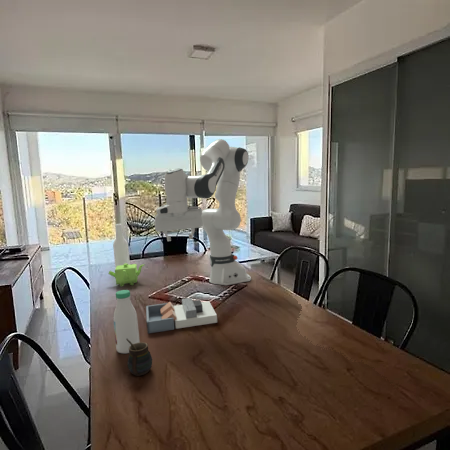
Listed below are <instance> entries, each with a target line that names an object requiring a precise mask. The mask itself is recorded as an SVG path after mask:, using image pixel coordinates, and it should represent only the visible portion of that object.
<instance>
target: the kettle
mask: <svg viewBox="0 0 450 450" xmlns="http://www.w3.org/2000/svg"><path fill="white" fill-rule="evenodd" d="M144 266H145V264H140V265H139V267H137V263H133V264H131V263H130V265H128V264H123V265H119V266H117V267H116V268H115V269H114V271H112V270H109V271H108V275H110V276H112V277H113V278H115V285H119V287H124V286H125V284H126V285H127V284H129V286H134V285H135V283H138V280H139V279H138V278H139V276H140V274H141V272H142V268H143V267H144Z"/></svg>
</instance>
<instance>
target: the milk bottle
mask: <svg viewBox="0 0 450 450" xmlns="http://www.w3.org/2000/svg"><path fill="white" fill-rule="evenodd" d="M115 298H116V306H115V309H114V312H113V329H114V330H113V332H114V339H115V347H116V352H117V353H119V354H130V353H129V347H130V346H131V344H130V343H129V342H128V341H127V340H126V339H128V340H129V341H130V342H131V343H132V344H135V343H139V342H141V341H140V332H139V321H138V314H137V311H136V309H135V307H134V305H133V303H132V301H131V291H130V290H128V289H121V290H118V291H116V292H115Z"/></svg>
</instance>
